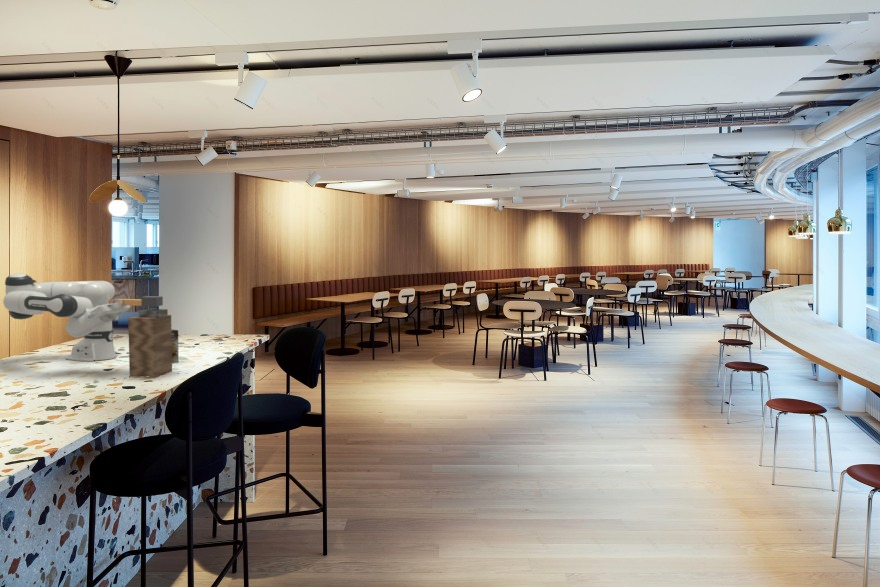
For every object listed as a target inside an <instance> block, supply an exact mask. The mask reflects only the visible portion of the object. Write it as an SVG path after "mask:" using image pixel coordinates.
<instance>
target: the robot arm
mask: <svg viewBox="0 0 880 587" xmlns="http://www.w3.org/2000/svg"><path fill="white" fill-rule="evenodd" d="M4 285H5V295H4V297H3V302H2V303H3V306H4V308H5V309H6V310H7V311H8V314H9V315H10V317H11V318H12V319H15V320H26V319H31V318H32V317H34V315H35V316H36V315H41V314H44V313H45V312H49V313H51V314H52V315H54V316H56V317H58V318H68V319H67V324H66V326H65V327H64V328H65V332H66V333H67V334H68V335H70V336H71V337H72V338H73V337H74V338H76V339H77V338H78V339H79V338H82V339H80V341H78V342H77V343H75V345H73V346H72V347H71V348H72V349H71V352H70V355H67V356H66V357H65V359H66V360H67V359H68V361H69V360H70V361H71V360H72V361H79V362H80V361H81V362H94V360H95V361H103V360H111V359H115V358H117V353H116V351H115V345H114V330H113V321H114V320H118V317H119V316H122V314H124V313H125V312H127V311H129V310H130V309H131V305H122V304H124V302H123V300H120V301H118V302H116V303H115V302H114V303H113V302H112V303H109V301H110V300H112V299H113V297H114V296H115V294H116V289H115V286H114V285H113V284H112V283H111V282H109V281H106V280H80V281H79V280H78V281H77V280H76V281H44V282H38V283H37V280H35V279H33V278H32V277H31V276H30V275H28V274H23V273H14V274H11V275H8V276H7V277H6V278H5V280H4Z"/></svg>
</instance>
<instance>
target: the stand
mask: <svg viewBox="0 0 880 587" xmlns="http://www.w3.org/2000/svg"><path fill="white" fill-rule="evenodd" d="M127 321H128V322H127V323H128V360H129V361H128V363H129V367H128V368H129V377H130V376H151V377H150V378H158V377H160V375H161V376H163V375H165V373H166V374H168V373H170V372H173V363H172V334H171V329H172V314H168V309H167V308H147V309H145V310H138V315H136V316H132V317H128V320H127ZM167 372H168V373H167ZM162 374H163V375H162Z"/></svg>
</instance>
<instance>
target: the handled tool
mask: <svg viewBox="0 0 880 587" xmlns="http://www.w3.org/2000/svg"><path fill="white" fill-rule="evenodd" d="M120 300H123V302H124V304H122V305H130V307H131V306H137V307H139V306H140V307H160V306H164V305H163V303H164V302H163V300H164V299H163V296H162V295H160V296H159V295H158V296H157V295H155V296H153V295H152V296H151V295H146V296H141V298H138V299H135V298H118V299H117V298H116V299H115V302H114V303H116V302H118V301H120Z"/></svg>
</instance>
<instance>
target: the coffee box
mask: <svg viewBox="0 0 880 587" xmlns="http://www.w3.org/2000/svg"><path fill="white" fill-rule="evenodd" d="M171 334H172V364H174V362H176V363H179V362H180V361H179V359H180V358H179V330H178V329H172V328H171Z"/></svg>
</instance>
